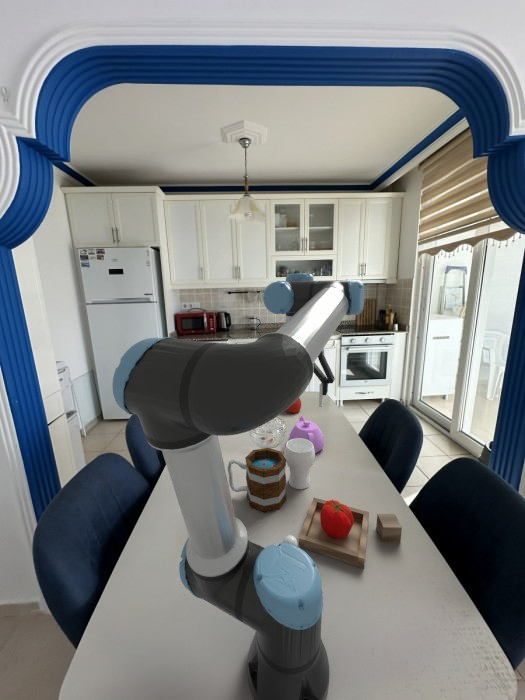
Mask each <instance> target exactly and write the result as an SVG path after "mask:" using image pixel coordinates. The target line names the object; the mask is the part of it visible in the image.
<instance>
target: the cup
mask: <svg viewBox="0 0 525 700" xmlns="http://www.w3.org/2000/svg"><path fill="white" fill-rule="evenodd" d="M284 457H285V459H286V465H287V467H288V469H289V475H288V476H289V478H288V484H289V486H290V487H292V488H293V489H297V490H304V489H307V488H308V487H310V485H311V479H310V470H311V468H312V467H313V465H314V462H315V459H316V453H315V451H314V446H313V444H312V442H310V441H309V440H306V439H302V438H296V439H291V440H289V439H288V440H287V442H286V445H285V448H284Z"/></svg>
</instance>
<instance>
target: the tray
mask: <svg viewBox="0 0 525 700" xmlns="http://www.w3.org/2000/svg"><path fill="white" fill-rule="evenodd" d="M327 501H328V500H325V499H321V498H318V497H313V498H312V502H311V504H310V506H309V509H308V513H307V516H306V518H305V520H304V523H303V527H302V529H301V532H300V535H299V537H298V547H299V548H300V549H302V550H305V551H306V550H307V551H310V552H313V553H316V554H318V555H322V556H323V557H324V556H325V557H328V558H331V559H334V560H337V561H340V562H341V563H342V562H343V563H345V564H349V565H352V566H354V567H357V568H360V569H363V570H364V569H365V562H366V550H367V543H368V541H367V540H368V539H367V538H368V533H369V532H368V531H369V530H368V529H369V518H370V512H369V511H366V510H363V509H359V508H355V507H351V506H348V505H347V507H348V508H349V509H350V511H351V513H352V515H353V517H354V523H353V526H352V528H351V530H350V532H349V534H348V535H347V536H346V537H344V538H342V539H335V538H332V537H330V536H328V535H327V534H326V533H325V532H324V531H323V529H322V526H321V521H320V514H321V510H322V507H323V506H324V504H325V503H326V502H327Z"/></svg>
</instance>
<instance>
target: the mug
mask: <svg viewBox="0 0 525 700" xmlns="http://www.w3.org/2000/svg"><path fill="white" fill-rule="evenodd" d="M244 458H245V459H244V460H245V463H244V462H242V461H241V460H239V459H238V458H234V459H231V460H229V461H228V465H227V472H228V473H227V474H228V481H229V482H228V484H229V488H230V489H231V491H234V492H236V493H240V492H246V499H247V503H248V504H249V505H248V506H249V508H250V509H252V510H255V511H257V512H259V513H263V514H267V513H272V512H275V511H280V510H281V509H282V507H283V505H284V504H285V503H286V502H287V496H286V495H287V494H286V485H287V475H286V465H287V462H286V459H285V454H283V453H282V451H281V450H277V449H273V448H270V447H263V448H262V447H261V448H258V449H253V450H251V452H249V454H248V455H247V456H245V457H244ZM233 464H235V465H238V466H239V468H240V469H242V470H246V473H245V474H246V475H245V480H246V485H242V486H236V485H235V484H234V482H233V471H232V465H233Z"/></svg>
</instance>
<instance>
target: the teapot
mask: <svg viewBox="0 0 525 700" xmlns="http://www.w3.org/2000/svg"><path fill="white" fill-rule="evenodd" d="M296 438H302V439H306V440H309V441H310V442H312V444H313V446H314V451H315V454H316V453H318V452H320V451H322V449H323V448H324V446H325V439H324V438H325V437H324V435H323V432H322V430H321V429H320V426H318V424H316V423H315V422H313V421H310V420H307V419H305V420H304V416H303V415H299V422H297V423H296V424H295V425H294V426H293V428H292V429H291V431H290V433H289V437H288V441H289V440H291V439H296Z"/></svg>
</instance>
